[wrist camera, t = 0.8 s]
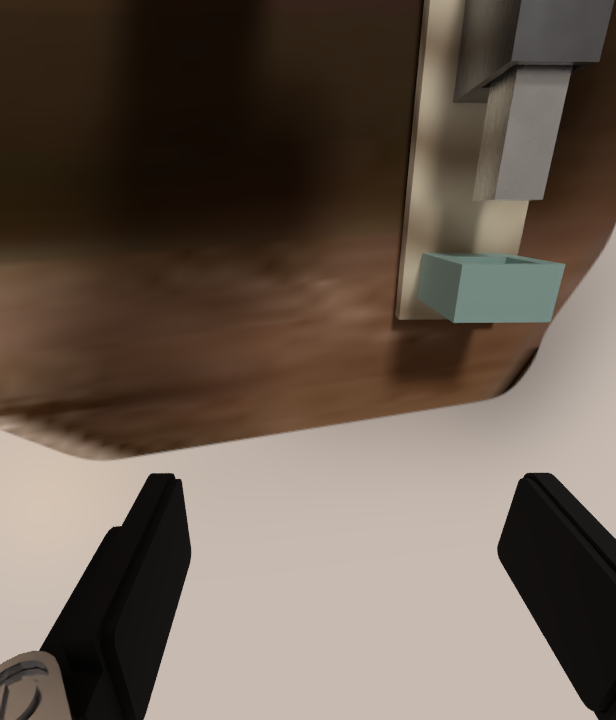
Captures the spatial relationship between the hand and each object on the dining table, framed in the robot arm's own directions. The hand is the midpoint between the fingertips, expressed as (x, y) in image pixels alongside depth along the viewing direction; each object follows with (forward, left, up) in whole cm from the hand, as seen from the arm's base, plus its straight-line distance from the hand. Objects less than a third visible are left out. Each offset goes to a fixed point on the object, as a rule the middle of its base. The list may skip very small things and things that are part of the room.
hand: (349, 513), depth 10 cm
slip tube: (-17, +13, -21) cm, 30 cm away
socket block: (-3, +13, -25) cm, 28 cm away
